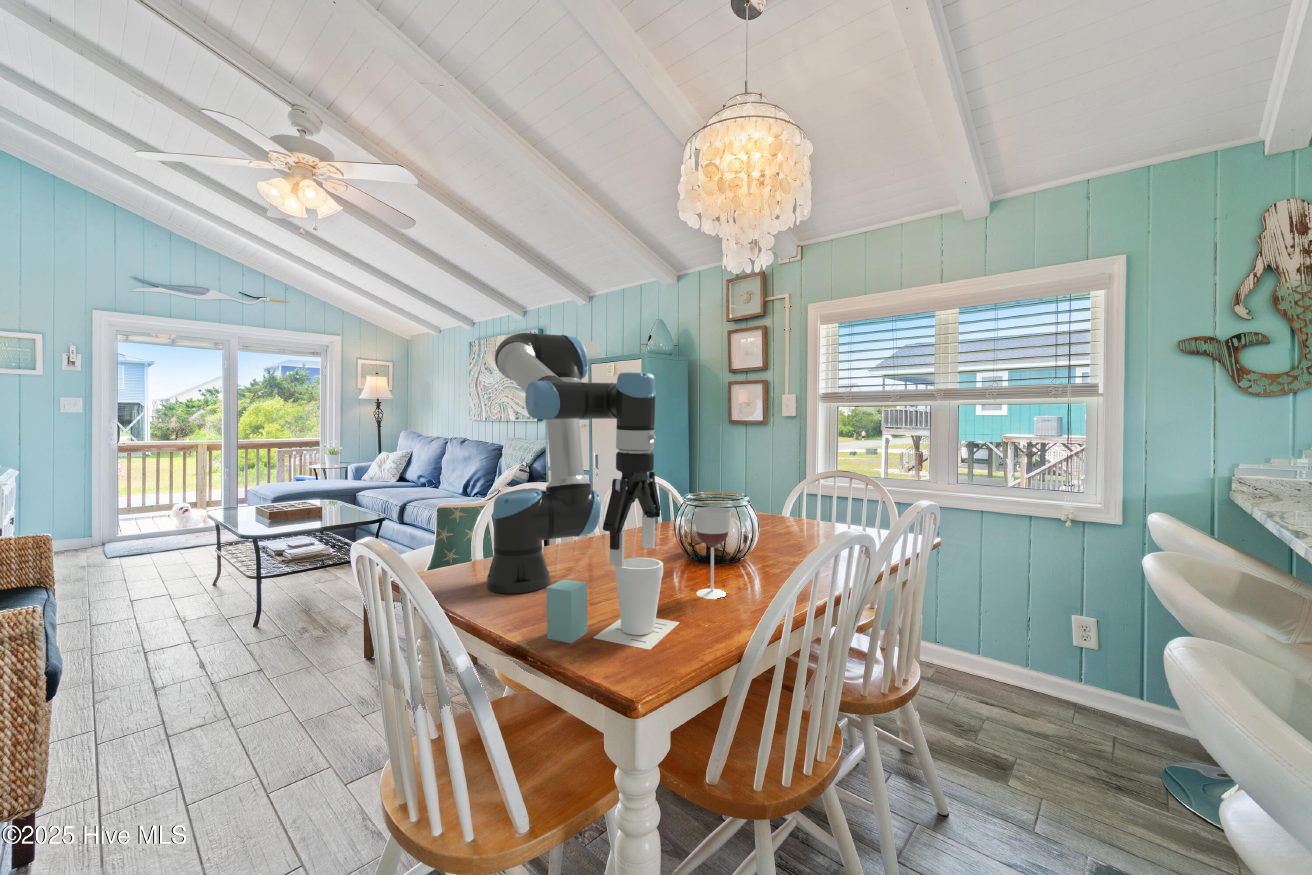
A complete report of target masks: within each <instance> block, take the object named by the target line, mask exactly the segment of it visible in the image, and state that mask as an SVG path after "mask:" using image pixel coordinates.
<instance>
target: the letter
mask: <svg viewBox="0 0 1312 875" xmlns="http://www.w3.org/2000/svg"><path fill="white" fill-rule="evenodd" d="M679 624H680V621H674V620H668V619H663V618H657V617H656V620H655V626H654V630H653V632H651V633H649V634H644V635H632V634H627V633H625V632H623V630H622V626H621V618H619V619H617V620H616V621H614V622H613V623H612V624H610V625H609V626H607V627H606V628H604V629H603V630H602V631H600V632H599V633H597V634H596V635H595V636H593V637H592V639H596V640H601V641H606V642H611V643H616V644H621V645H624V646H629V647H635V648H640V649H645V650H649V651H650V650H652V649H653V647H655V646H656V645H657V644H658V643H659V642H660V641H662V639H664V638H665V637H666V636H667V635H668V634H669V633H670V632H672V631H673V629H674V628H676V627H677V626H678V625H679Z"/></svg>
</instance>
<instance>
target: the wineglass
mask: <svg viewBox="0 0 1312 875" xmlns="http://www.w3.org/2000/svg"><path fill="white" fill-rule="evenodd" d="M693 511H694V513H693V514H694V524H695V530H696V531H695V532H696V535H697V537H698V540H699V541H700V542H701V543H702V544H704V545H707V546H709V547H710V588H701V589H698V590H697V591H696V593H695V594H696V596H698V597H700V598H702V597H703V599H705V600H706V599H707V600H718V599H717V598H720V597H725V596H726V592H727V591H726V592H724V591H725V590H723V589H719V588H715V587H714V586H715V585H714V583H715V548H716V547H717V546H719V545H720V544H721V543H724V542H725V541H726V539H727V538H728V536H729V532H730V526H731V520H732V518H731V517H732V509H731V508H727V507H721V506H720V507H719V506H703V507H698V508H695V509H694V510H693ZM722 590H723V591H722ZM725 598H726V597H725Z"/></svg>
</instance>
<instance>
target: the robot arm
mask: <svg viewBox="0 0 1312 875" xmlns="http://www.w3.org/2000/svg"><path fill="white" fill-rule="evenodd" d="M586 349H587V348H586V347H585V344H584V343H583V342H582V340H580V338H578V337H576V336H572V335H566V334H561V335H560V334H546V333H533V332H532V333H531V332H519V333H514V334H512V335H509V336H508V337H506V338H505V339H503V340H502V341H500V343H499V344H498V346H497V348H496V350H495V354H494V362H495V366H496V367H497V370H498V371H499V372H500V374H501V375H502V376H504V377H505V378H506V379H508V380H511V381H514V382H515V384H516V385H518V387H519V388H520V389H521V390H522V391H523V392H524V394H525V398H524V400H525V401H524V402H525V403H524V404H525V407H526V410H527V411H526V412H527V414H528V416H529V417H530V418H532V419H542V420H546V428H547V429H546V430H547V440H548V441H547V443H548V454H549V456H548V457H549V467H550V469H549V470H550V480H549V482H548V483H547V484H546V486H545V492H546V493H543V491H542V490H541V489H540V488H536V487H535V488H534V487H532V488H521V489H514V490H510V491H506V492H503V493H501V494H499V495H498V496H496V497H495V499H494V501H493V511H492V518H493V557H492V560H491V563H490V567H489V570H488V574H487V576H486V589H488V590H489V591H491V592H494V593H499V594H507V595H508V594H511V595H512V594H515V595H516V594H524V593H531V592H535V591H539V590H542V589H543V588H545V587H546V588H547V587H548V585H549V584H550V572H549V570H548V568H547V563H546V561H545V557H544V554H543V541H546V540H555V539H564V538H571V537H573V538H574V537H575V538H576V537H577V538H578V537H580V536H585V535H590V534H592V533H593V532H594V531H595V530H596V528H597V527H598V524H599V521H600V518H601V511H602V505H601V498H600V494H599V492H598V491H597V490H595V489H593V488H592V489H591V482H590V481H589V480H588V479H587V478H586V477H585V472H584V463H583V462H584V459H583V450H582V449H583V448H582V439H581V438H582V437H581V425H580V419H583V420H586V419H588V420H589V419H591V420H592V419H594V420H599V419H600V420H601V419H603V420H604V419H605V420H606V419H608V420H609V419H610V420H612V419H613V420H616V427H615V428H616V438H615V441H616V442H615V449H617V450H618V451H617V452H616V454H615V469H616V471H618V472H621V478H613V479H612V483H611V493H610V498H609V501H608V504H607V510H606V513H605V518H604V520H603V521H604V522H603V525H602V530H603V531H605V532H608V533H609V565H610V566H614V567H615V566H620V567H623V566H624V559H625V531H623V529H624V526H625V523H626V520H627V517H628V514H629V512H630V509H631V506H632V505H633V503H635V502H636V499H637V501H638V503H639V505H640V508H641V510H642V512H643V516H642V517H641V518H642V519H641V526H642V527H641V548H643V549H644V548H646V549H652V550H653V549H654V550H655V546H656V518H660V517H661V504H660V500H659V494H658V489H657V485H656V478H655V477H656V473H655V471H654V469H655V468H654V467H655V466H654V465H655V462H654V461H655V458H654V457H655V454H654V453H653V449H655V440H656V439H657V438H656V435H655V421H656V419H655V418H656V417H655V416H656V396H657V391H656V379H655V376H654V374H652V373H649V372H632V371H630V372H628V371H627V372H620V373H619V374H618V375H617V380H616V383H615V382H582V380H583V379H585V378H586V375H587V374H588V371H589V369H588V367H589V358H588V353H587V350H586Z"/></svg>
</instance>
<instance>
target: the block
mask: <svg viewBox="0 0 1312 875" xmlns="http://www.w3.org/2000/svg"><path fill="white" fill-rule="evenodd" d="M587 633H588V582H583V581H578V580H570V579H560V580H559V581H556V582H555V583H552V584H550V585H549V586H548V585H547V586H546V638H547V639H548V640H554V641H557V642H562V643H566V644H567V643H568V644H574V642H576V641H577V640H579V639H580V638H583V636H584V635H586V634H587Z"/></svg>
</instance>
